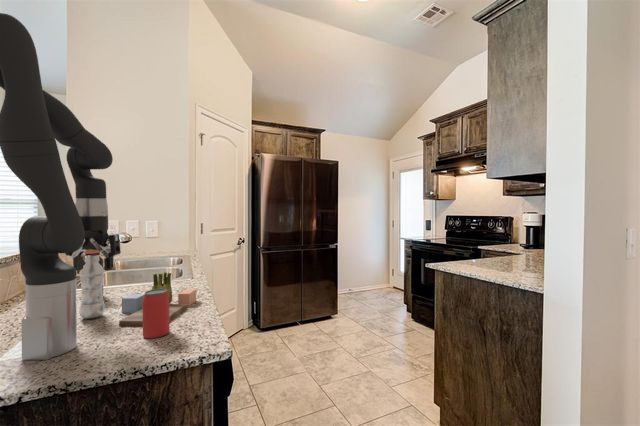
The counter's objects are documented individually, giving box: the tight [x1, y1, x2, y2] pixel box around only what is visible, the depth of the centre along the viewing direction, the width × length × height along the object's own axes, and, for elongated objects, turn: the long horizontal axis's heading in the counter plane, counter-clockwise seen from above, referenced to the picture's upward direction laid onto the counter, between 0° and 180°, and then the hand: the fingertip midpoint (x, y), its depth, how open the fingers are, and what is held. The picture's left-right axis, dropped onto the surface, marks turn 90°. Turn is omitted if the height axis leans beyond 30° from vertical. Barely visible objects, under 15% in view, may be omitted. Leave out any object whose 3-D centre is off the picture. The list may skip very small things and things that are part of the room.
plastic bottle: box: [79, 254, 106, 320], centre depth 96 cm, size 6×7×20 cm
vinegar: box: [83, 249, 104, 293], centre depth 118 cm, size 7×7×20 cm
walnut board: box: [118, 303, 188, 327], centre depth 97 cm, size 16×13×2 cm
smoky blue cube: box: [121, 293, 145, 314], centre depth 103 cm, size 5×5×5 cm
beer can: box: [142, 289, 170, 339], centre depth 83 cm, size 7×7×12 cm
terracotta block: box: [177, 288, 197, 307], centre depth 111 cm, size 6×4×4 cm, turn 0°
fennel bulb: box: [152, 271, 173, 304], centre depth 109 cm, size 6×5×12 cm
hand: (93, 270), depth 86 cm, fingers open, 8 cm apart
